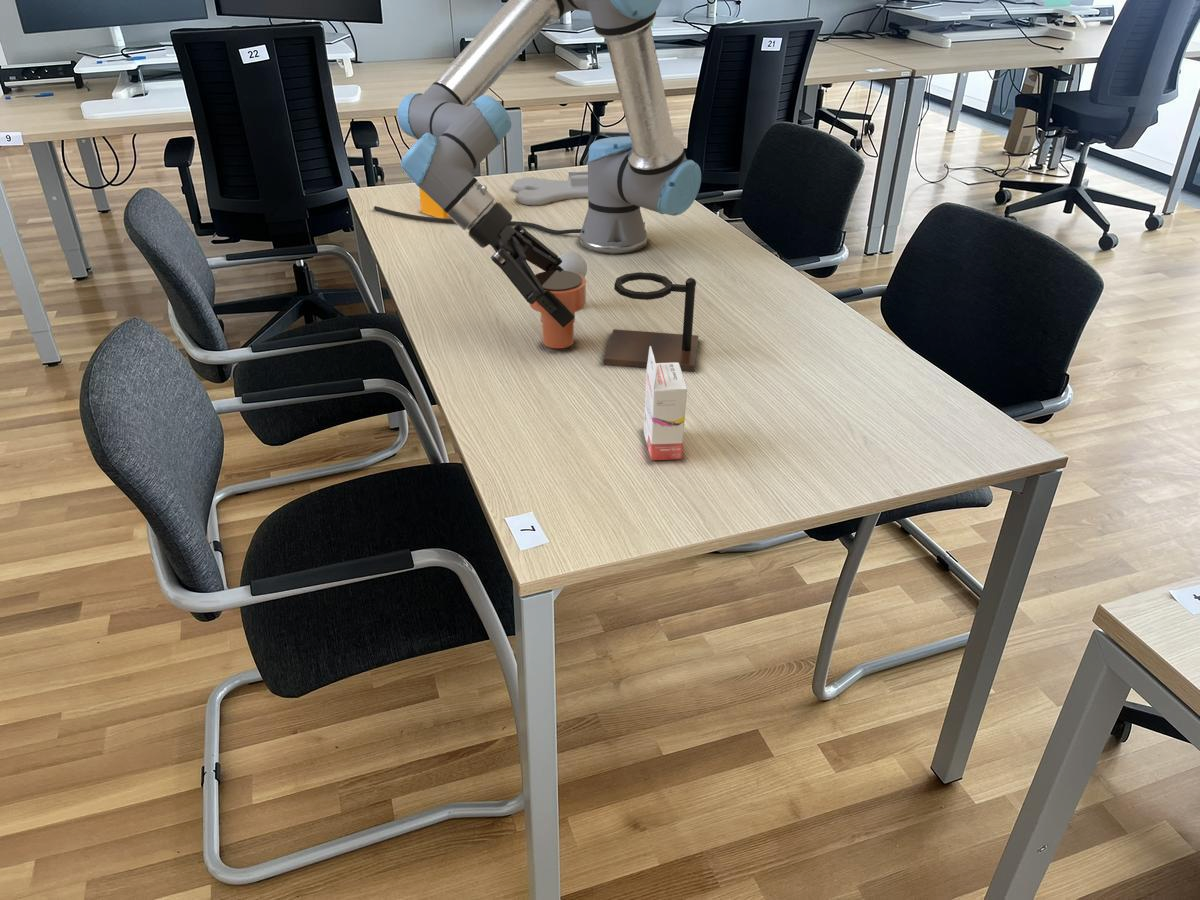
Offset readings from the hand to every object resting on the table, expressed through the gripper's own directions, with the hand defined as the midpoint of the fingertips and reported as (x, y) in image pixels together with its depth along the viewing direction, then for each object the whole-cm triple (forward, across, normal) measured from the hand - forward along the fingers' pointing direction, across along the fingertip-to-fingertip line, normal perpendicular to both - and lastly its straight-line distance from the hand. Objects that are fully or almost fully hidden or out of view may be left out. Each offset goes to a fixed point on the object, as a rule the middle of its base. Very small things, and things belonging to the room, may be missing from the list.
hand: (574, 309), depth 161 cm
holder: (-5, +90, +16) cm, 92 cm away
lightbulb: (+3, +17, +8) cm, 19 cm away
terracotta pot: (+2, 0, +7) cm, 7 cm away
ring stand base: (+15, 0, -5) cm, 16 cm away
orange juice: (-26, +68, +37) cm, 82 cm away
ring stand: (+14, 0, -6) cm, 15 cm away
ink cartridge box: (+18, -31, -8) cm, 37 cm away
